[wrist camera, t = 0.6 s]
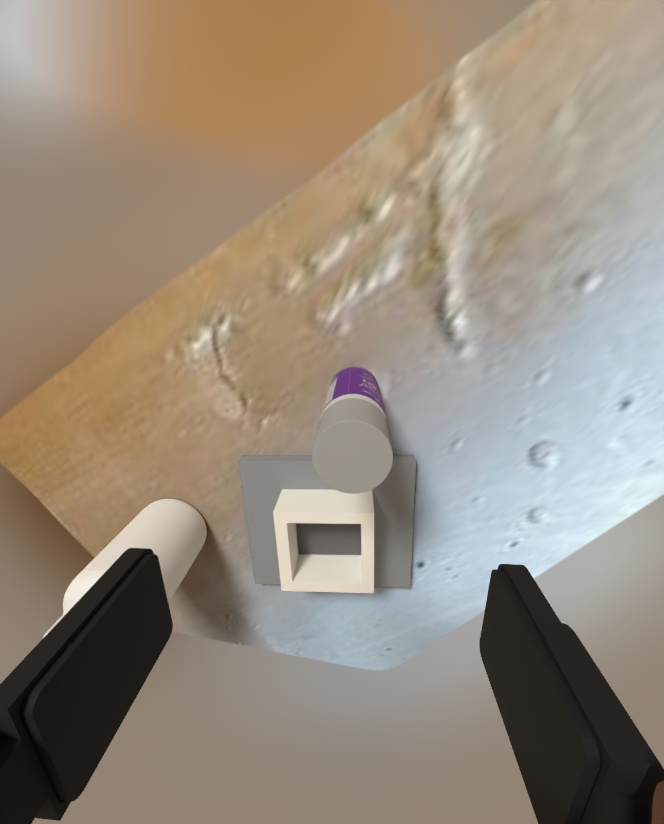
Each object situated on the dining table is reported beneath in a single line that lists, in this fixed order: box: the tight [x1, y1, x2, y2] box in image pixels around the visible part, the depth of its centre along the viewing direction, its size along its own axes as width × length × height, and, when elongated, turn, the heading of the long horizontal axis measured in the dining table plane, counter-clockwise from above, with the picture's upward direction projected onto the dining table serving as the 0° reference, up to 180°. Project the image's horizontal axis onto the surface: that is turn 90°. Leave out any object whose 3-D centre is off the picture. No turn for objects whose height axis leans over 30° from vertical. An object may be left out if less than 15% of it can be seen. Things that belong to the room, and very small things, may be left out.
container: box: [312, 366, 393, 494], centre depth 25 cm, size 5×5×15 cm
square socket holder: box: [238, 455, 416, 593], centre depth 35 cm, size 18×16×5 cm
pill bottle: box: [43, 499, 207, 638], centre depth 32 cm, size 8×8×15 cm
